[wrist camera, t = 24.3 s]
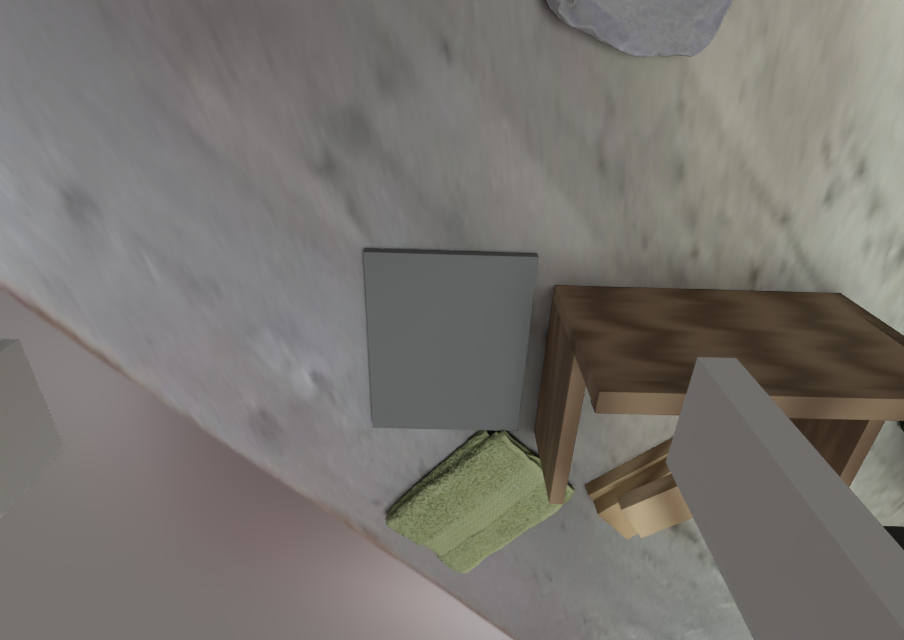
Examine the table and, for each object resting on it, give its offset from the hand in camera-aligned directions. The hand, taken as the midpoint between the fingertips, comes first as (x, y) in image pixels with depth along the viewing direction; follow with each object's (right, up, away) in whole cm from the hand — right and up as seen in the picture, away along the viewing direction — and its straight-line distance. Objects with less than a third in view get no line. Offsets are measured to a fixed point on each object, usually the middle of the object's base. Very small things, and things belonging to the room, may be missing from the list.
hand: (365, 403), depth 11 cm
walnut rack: (+22, -3, +38) cm, 44 cm away
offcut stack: (+23, -14, +44) cm, 52 cm away
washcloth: (+4, -17, +46) cm, 49 cm away
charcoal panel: (+1, -1, +37) cm, 37 cm away
